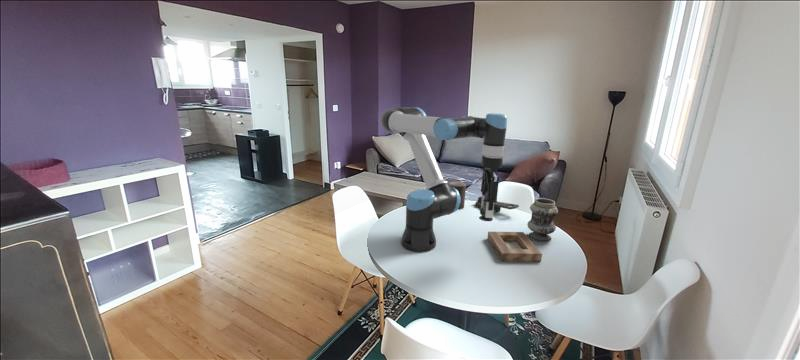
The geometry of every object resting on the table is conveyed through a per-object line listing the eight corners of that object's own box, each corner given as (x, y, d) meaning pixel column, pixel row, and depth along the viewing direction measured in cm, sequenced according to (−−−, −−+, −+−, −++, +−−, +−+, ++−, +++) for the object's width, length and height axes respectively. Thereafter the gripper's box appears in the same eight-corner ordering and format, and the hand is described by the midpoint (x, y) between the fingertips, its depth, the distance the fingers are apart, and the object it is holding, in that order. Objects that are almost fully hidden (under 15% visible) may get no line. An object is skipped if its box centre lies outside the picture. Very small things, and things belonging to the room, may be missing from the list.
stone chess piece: (486, 222, 126) (490, 192, 122) (475, 217, 130) (477, 188, 127) (496, 219, 129) (500, 190, 126) (485, 214, 133) (488, 186, 130)
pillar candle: (458, 210, 183) (460, 185, 179) (443, 206, 189) (445, 181, 185) (467, 206, 190) (469, 181, 186) (453, 202, 196) (455, 178, 192)
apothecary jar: (539, 230, 161) (545, 195, 156) (559, 240, 150) (566, 203, 145) (520, 233, 156) (525, 198, 151) (539, 245, 146) (545, 206, 141)
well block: (501, 261, 131) (502, 253, 130) (487, 238, 151) (488, 231, 150) (540, 261, 132) (542, 253, 131) (522, 239, 151) (523, 232, 150)
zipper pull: (510, 208, 171) (473, 195, 190) (509, 220, 172) (472, 205, 192) (520, 205, 176) (484, 192, 195) (519, 216, 178) (483, 203, 197)
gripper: (511, 162, 114) (503, 224, 120) (495, 151, 132) (489, 205, 138) (489, 161, 113) (483, 223, 120) (476, 150, 131) (471, 205, 138)
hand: (486, 214), depth 129 cm, fingers closed on stone chess piece, 6 cm apart
